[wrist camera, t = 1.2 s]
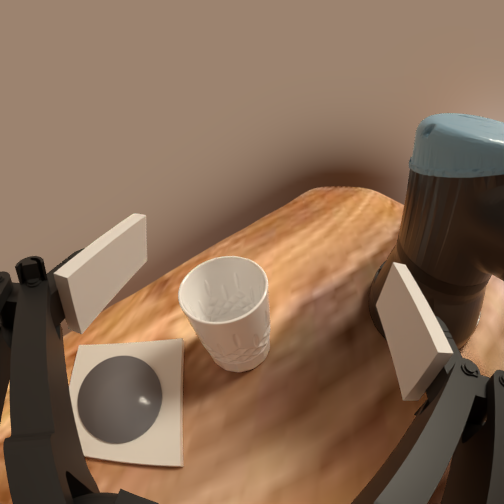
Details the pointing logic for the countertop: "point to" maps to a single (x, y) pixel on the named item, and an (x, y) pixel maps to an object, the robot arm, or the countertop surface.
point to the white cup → (229, 310)
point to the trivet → (130, 401)
